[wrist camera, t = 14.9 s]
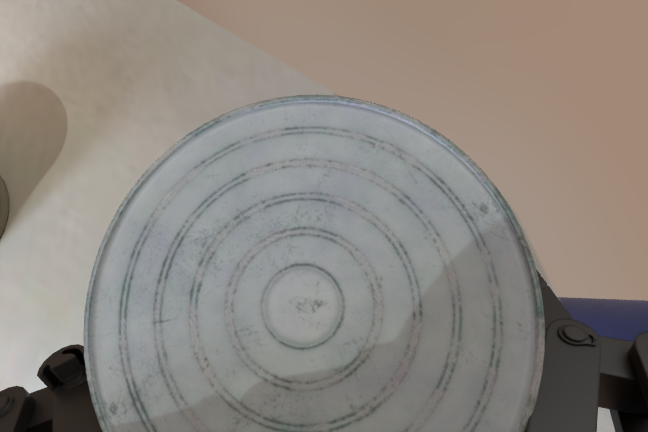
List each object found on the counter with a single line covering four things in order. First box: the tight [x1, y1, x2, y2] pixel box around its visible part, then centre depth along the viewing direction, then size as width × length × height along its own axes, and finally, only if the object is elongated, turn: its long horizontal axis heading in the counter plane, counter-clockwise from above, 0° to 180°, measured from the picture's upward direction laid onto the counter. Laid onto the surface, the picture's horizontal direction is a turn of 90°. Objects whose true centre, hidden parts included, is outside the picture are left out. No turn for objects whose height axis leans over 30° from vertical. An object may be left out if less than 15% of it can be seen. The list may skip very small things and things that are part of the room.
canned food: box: [83, 95, 545, 432], centre depth 15 cm, size 11×11×12 cm
